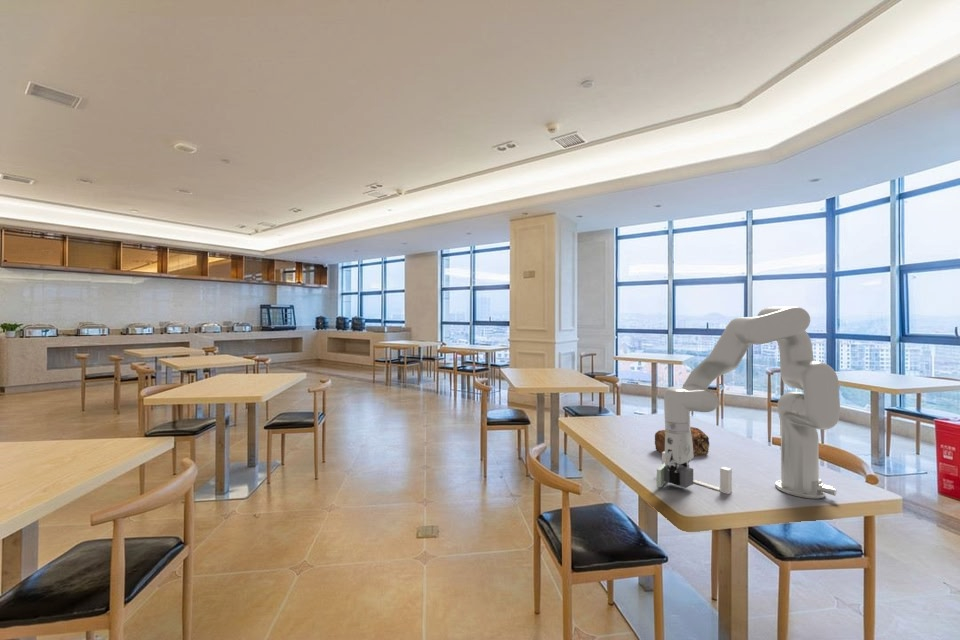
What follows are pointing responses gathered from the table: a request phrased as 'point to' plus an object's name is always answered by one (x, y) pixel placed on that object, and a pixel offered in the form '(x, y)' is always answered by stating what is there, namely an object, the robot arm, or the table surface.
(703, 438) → the bread
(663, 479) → the door
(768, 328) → the robot arm
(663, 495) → the table surface
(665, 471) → the block
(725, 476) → the door frame
